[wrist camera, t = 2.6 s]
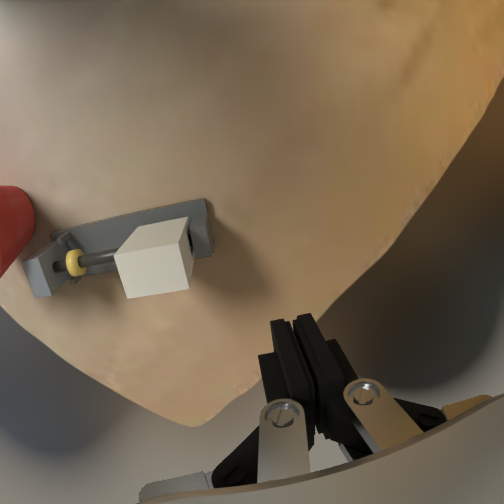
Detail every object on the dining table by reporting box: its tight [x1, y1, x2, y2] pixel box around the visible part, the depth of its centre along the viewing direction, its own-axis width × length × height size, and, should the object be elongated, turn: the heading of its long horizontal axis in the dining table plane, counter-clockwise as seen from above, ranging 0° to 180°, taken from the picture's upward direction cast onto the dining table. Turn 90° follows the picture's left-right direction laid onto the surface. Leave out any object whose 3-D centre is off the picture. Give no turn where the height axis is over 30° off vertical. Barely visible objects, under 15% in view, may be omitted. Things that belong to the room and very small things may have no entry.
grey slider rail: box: [22, 198, 215, 298], centre depth 27 cm, size 19×6×7 cm, turn 98°
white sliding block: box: [113, 217, 195, 299], centre depth 24 cm, size 5×4×8 cm
